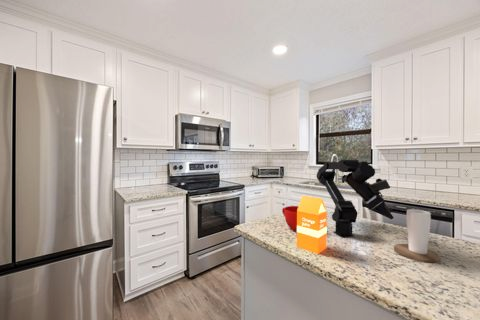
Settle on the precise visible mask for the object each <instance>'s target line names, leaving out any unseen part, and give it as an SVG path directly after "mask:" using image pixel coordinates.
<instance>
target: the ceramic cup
mask: <svg viewBox="0 0 480 320" xmlns="http://www.w3.org/2000/svg"><path fill="white" fill-rule="evenodd" d="M298 207H299V205H289V206H285V207H283V208H282V209H281V210H282V214H283V216H284V219H285V222H286V224H287V226H288V227H289V229H290V230H291V231H294V232H297V210H298Z"/></svg>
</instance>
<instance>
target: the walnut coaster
mask: <svg viewBox="0 0 480 320" xmlns="http://www.w3.org/2000/svg"><path fill="white" fill-rule="evenodd" d="M393 251H394V252H395V253H397V254H398V255H400V256H401V257H404V258H406V259H409V260H413V261H417V262H420V263H427V264H429V263H430V264H434V263H439V262H440V261H441V256H440V254H438V253H437V252H435V251H434V250H431V249H428V252H427V254H424V255H422V254H416V253H413V252H411V251H410V250H409V249H408V243H397V244H394V245H393Z"/></svg>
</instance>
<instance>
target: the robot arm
mask: <svg viewBox="0 0 480 320" xmlns="http://www.w3.org/2000/svg"><path fill="white" fill-rule="evenodd" d="M336 170H338V171H339V172H342V173H348V174H344V175H342V176H341V183H342V184H344V183H346V184H347V185H348V186H349V187H350V188H351V189H352V190H353V191H354V192H355V194H357V195H359V196H360V198H362V199H363V201H364V202H365V208H367V209H368V210H369V211H372V212H374V213H377V214H378V215H381V216H384V217H385V218H387V219H390V220H393V219H394V215H393V214H392V211H391V210H390V208H389V207H388V205H387V204H386V201H385V199H384V198H383V194H382V193H381V191H383V190H388V189H390V188H391V185H390V184H389V182H388V180H387V179H381V178H380V177H379V178H376V179H375V182H373V183H370V182H368V180H370V179H371V178H372V177H374V176H375V174H376V169H375V167H373V166H372V164H371V165H370V164H369V163H368V162H367V161H361V162H360V161H359V160H358V159H356V158H355V159H353V158H352V159H351V158H350V159H349V158H348V159H347V158H346V159H344V158H343V159H339V160H338V161H325V162H324V164H323V165H322V166H321V167H319V168H318V170H317V173H316V179H317V181H318V182H319V183H320V184H321V185H323V186H325V189H326V191H327V192H328V195H329V197H330V198H331V199H332V201H333V203H334V205H335V207H334V212H333V213H332V214H331V218H332V221H334V222H335V230H334V231H332V233H334V234H335V235H337V236H339V237H340V238H349V237H350V238H351V237H355V235H354V234H353V223H354V224H355V223H356V222H357V218H358V210H356V206H355V205H354V203H353V202H352V201H351V200H346V199H345V198H344V196H343V194H342V193H341V191H340V189H339V188H338V186H337V184H336V183H335V178H336Z"/></svg>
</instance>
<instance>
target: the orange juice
mask: <svg viewBox="0 0 480 320" xmlns="http://www.w3.org/2000/svg"><path fill="white" fill-rule="evenodd" d="M298 206H299V207H298V210H297V231H296V247H297V248H300V249H302V250H305V251H308V252H311V253H314V254H316V255H319V254H320V253H321V252H323V251H324V250H326V249H327V233H328V232H327V230H328V229H327V228H328V225H327V223H328V222H327V220H328V218H327V217H328V212H327V209H326V205H325V202H324V200H323V198H321V197H315V196H307V195H301V199H300V201H299V205H298Z"/></svg>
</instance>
